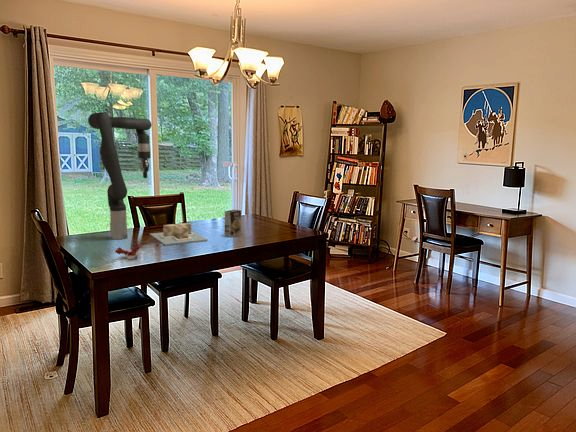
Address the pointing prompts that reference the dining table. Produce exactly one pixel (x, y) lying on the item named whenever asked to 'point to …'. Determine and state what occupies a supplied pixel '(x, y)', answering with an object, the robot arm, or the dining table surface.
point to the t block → (177, 230)
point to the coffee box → (232, 223)
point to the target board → (175, 241)
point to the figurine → (129, 251)
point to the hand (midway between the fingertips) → (145, 177)
